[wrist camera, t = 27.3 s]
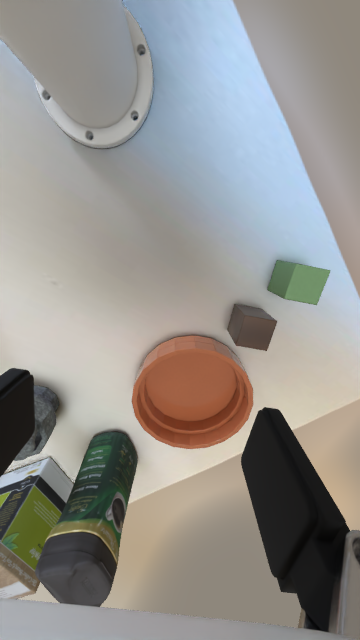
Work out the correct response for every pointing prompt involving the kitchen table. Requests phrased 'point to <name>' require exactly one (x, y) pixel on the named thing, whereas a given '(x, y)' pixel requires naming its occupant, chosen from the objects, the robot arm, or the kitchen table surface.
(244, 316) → the walnut block
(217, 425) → the bowl
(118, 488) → the coffee jar
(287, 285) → the sage-green block
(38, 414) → the mortar and pestle
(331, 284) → the kitchen table surface
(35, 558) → the tea box
